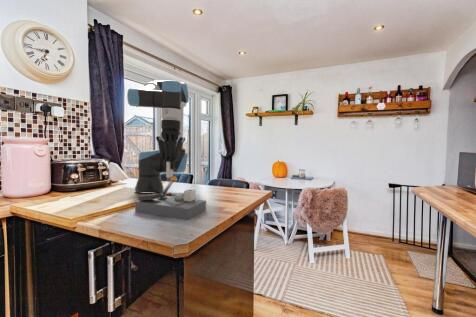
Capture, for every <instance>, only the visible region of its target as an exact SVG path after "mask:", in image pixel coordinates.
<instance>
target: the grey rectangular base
mask: <svg viewBox="0 0 476 317" xmlns="http://www.w3.org/2000/svg"><path fill="white" fill-rule="evenodd" d="M134 203H135V204H134V205H135V206H134V208H135V209H134V212H137V213H143V214H147V215H155V216H162V217H166V218H173V219H180V220H185V221H187V220H190V219H191V218H194V217H196V216H197V215H200V214H201V213H203V212H205V211H207V201H206V200H202V199H196V198H195V200H193V201H191V202H189V201H184V194H181V193H180V194H179V193H177V194H174V196H169V195H166V196H165V197H163V198H160V197H159V198H156V199H153V200H141V201H139V200H137V201H135V202H134Z"/></svg>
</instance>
